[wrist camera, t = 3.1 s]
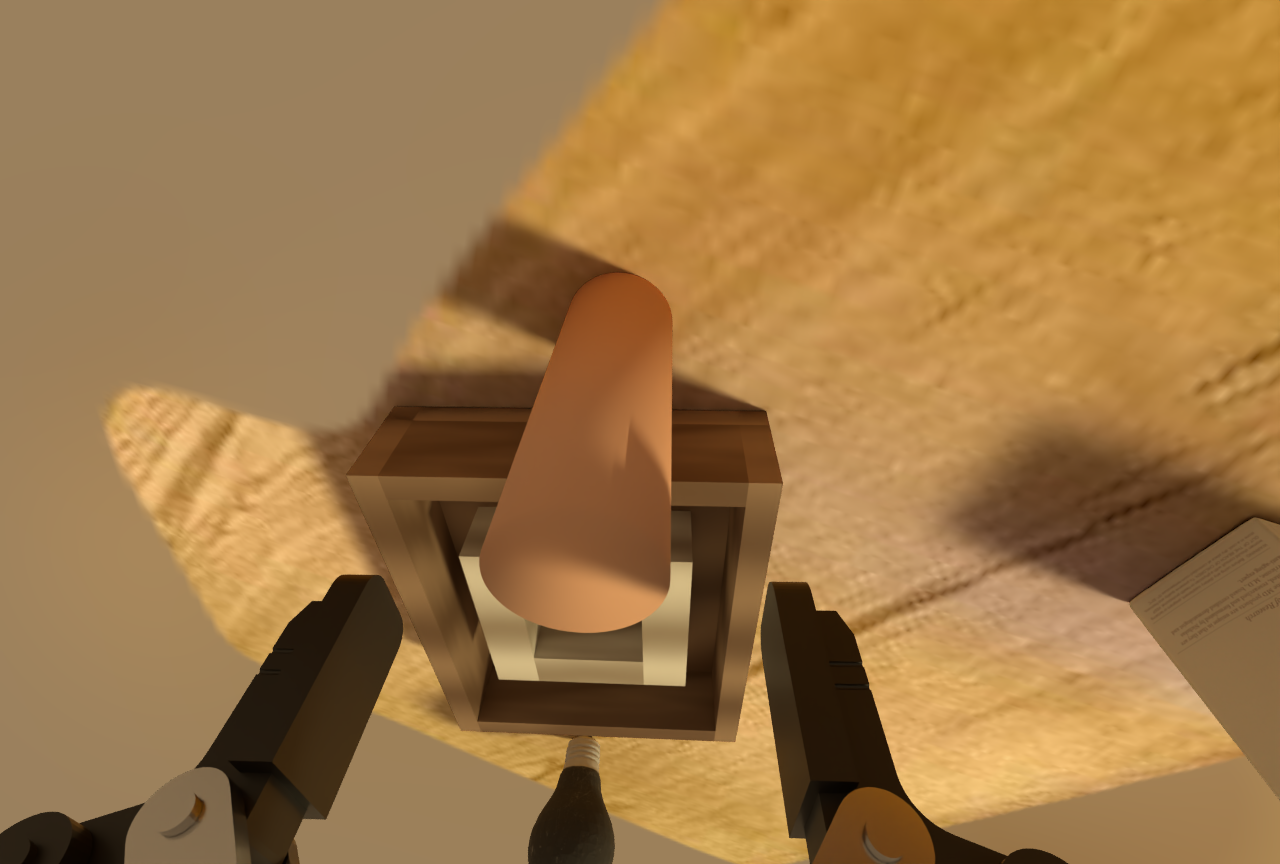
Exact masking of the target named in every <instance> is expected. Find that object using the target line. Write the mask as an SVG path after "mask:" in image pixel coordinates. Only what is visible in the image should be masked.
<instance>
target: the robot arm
mask: <svg viewBox="0 0 1280 864" xmlns="http://www.w3.org/2000/svg"><path fill="white" fill-rule="evenodd" d="M402 634H403V622H402V618H401V615H400V613H399V611H398V609H397V607H396V605H395V602H394V600H393V598H392V596H391V594H390V592H389V590H388V587H387V585H386V583H385V581H384V579H383V578H382V577H381V576H379V575H341V576H339V577H338V578H337V579H336V580H335V581H334V582H333V584H332V585H331V587H330V589H329V590H328V592H327V594H326V595H325V597H324V599H323V600H322V601H312V602H311V603H310V604H309V605H307V606H306V607H305V608H304V609H303V610H302V611H301V612H300V613H299V614H298V615H297V616H296V617H294V618H293V619H292V620H291V621H290V622H289V623H288V625H287V626H286V628H285V629H284V631H283V633H282V634H281V636H280V637H279V639H278V641H277V642H276V644H275V645H274V647H273V652H272V653H269V655H268V657H267V658H266V660H265V661H264V663H263V664H262V666H261V668H260V673H259V674H258V675H256V676H255V677H254V679H253V680H252V682H251V684H250V685H249V687H248V688H247V690H246V692H245V693H244V695H243V696H242V698H241V700H240V701H239V703H238V704H237V706H236V708H235V709H234V711H233V712H232V714H231V716H230V717H229V719H228V720H227V722H226V723H225V725H224V727H223V728H222V730H221V732H220V733H219V735H218V736H217V738H216V740H215V741H214V743H213V744H212V746H211V747H210V749H209V751H208V752H207V754H206V755H205V756H204V758H203V759H202V761H201V762H200V763H199V764H198V765H197V766H196V768H195V769H193V770H190V771H187V772H185V773H183V774H181V775H179V776H177V777H175V778H174V779H172V780H170V781H169V782H168V783H166V784H165V785H164V786H162V787H161V788H160V789H159V790H157V791H156V792H155V793H154V794H153V795H152V796H151V797H150V798H149V799H148V800H147V801H146V802H145V803H143V804H140V805H137V806H134V807H131V808H127V809H124V810H121V811H117V812H114V813H111V814H108V815H104V816H101V817H98V818H95V819H92V820H88V821H85V822H82V823H78V822H76V821H74V820H73V819H71V818H69V817H68V816H66V815H64V814H62V813H59V812H45V813H40V814H37V815H34V816H31V817H29V818H26V819H24V820H22V821H20V822H18V823H16V824H14V825H13V826H11V827H10V828H8V829H6V830H5V831H3V832H2V833H1V834H0V864H300V863H299V857H298V851H297V846H296V842H295V840H294V837H295V835H296V833H297V830H298V828H299V826H300V824H301V822H302V819H326V818H327V816H328V814H329V811H330V809H331V807H332V804H333V802H334V800H335V797H336V795H337V792H338V790H339V788H340V785H341V783H342V781H343V778H344V776H345V774H346V771H347V769H348V767H349V764H350V762H351V760H352V757H353V755H354V752H355V750H356V748H357V746H358V743H359V741H360V739H361V736H362V734H363V731H364V729H365V727H366V724H367V722H368V719H369V717H370V715H371V713H372V710H373V708H374V706H375V703H376V701H377V699H378V696H379V694H380V692H381V689H382V687H383V685H384V682H385V680H386V678H387V675H388V673H389V670H390V668H391V666H392V663H393V661H394V659H395V656H396V654H397V652H398V649H399V647H400V644H401V640H402ZM761 651H762V659H763V666H764V673H765V679H766V686H767V692H768V699H769V706H770V712H771V719H772V725H773V732H774V739H775V745H776V752H777V759H778V765H779V772H780V778H781V785H782V792H783V798H784V805H785V812H786V818H787V825H788V831H789V838H805V839H806V842H807V848H808V854H809V860H810V864H1068V863H1066V862H1065V861H1063V860H1062V859H1060V858H1058V857H1056V856H1055V855H1053V854H1050V853H1048V852H1045V851H1042V850H1037V849H1021V850H1017V851H1015V852H1013V853H1011V854H1010V855H1009V856H1006V855H1003V854H1001V853H998V852H996V851H993V850H991V849H988V848H985V847H983V846H981V845H978V844H975V843H973V842H970V841H968V840H965V839H963V838H960V837H958V836H955V835H953V834H951V833H949V832H946V831H944V830H943V829H941V828H940V827H938V826H936V825H935V824H934V823H932V822H931V821H930V820H928V819H927V818H926V817H925V816H924V815H923V814H922V813H921V812H920V811H919V810H918V809H917V808H916V807H915V806H914V804H913V803H912V802H911V801H910V799H909V798H908V796H907V795H906V793H905V791H904V790H903V788H902V786H901V784H900V781H899V779H898V776H897V773H896V770H895V767H894V763H893V760H892V757H891V754H890V750H889V747H888V744H887V741H886V737H885V734H884V731H883V728H882V724H881V721H880V718H879V715H878V711H877V708H876V705H875V701H874V698H873V695H872V692H871V690H870V689H869V682H868V679H867V675H866V672H865V669H864V667H863V666H862V659H861V656H860V653H859V649H858V646H857V643H856V639H855V636H854V634H853V633H852V631H851V630H850V629H849V627H848V626H847V625H846V623H845V622H844V621H843V619H842V618H841V617H840V615H839V614H838V613H837V612H836V611H816V609H815V605H814V601H813V597H812V593H811V590H810V587H809V585H808V583H806V582H769V584H768V589H767V595H766V600H765V606H764V612H763V618H762V624H761Z"/></svg>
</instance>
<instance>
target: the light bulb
mask: <svg viewBox="0 0 1280 864" xmlns="http://www.w3.org/2000/svg"><path fill="white" fill-rule="evenodd" d="M599 758H600V745H599V743H598V742H597V741H596V740H595V739H593V738H592V736H578V737H575V738H574V739H572V740H571V741H570V742H569V744H568V748H567V753H566V759H565V766H564V769H563V771H562V773H561V775H560V778H559V781H558V784H557V788H556V789H555V791H554V793H553V795H552V797H551V798H550V800H549V801H548V803H547V804H546V805H545V807H544V808H543V810H542V812H541V813H540V815H539V817H538V819H537V821H536V823H535V825H534V827H533V829H532V833H531V836H530V840H529V847H528V862H529V864H612V862H613V857H614V849H615V844H614V833H613V828H612V823H611V821H610V818H609V815H608V812H607V810H606V807H605V804H604V801H603V798H602V794H601V782H600V776H599V762H600V760H599Z"/></svg>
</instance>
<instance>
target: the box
mask: <svg viewBox="0 0 1280 864" xmlns="http://www.w3.org/2000/svg"><path fill="white" fill-rule="evenodd" d="M531 411H532V408H469V407H394V408H393V409H392V411H391V412H390V414H389V415H388V416H387V418H386V419H385V421H384V422H383V424H382V425H381V426H380V428H379V429H378V431H377V432H376V433H375V435H374V436H373V438H372V439H371V441H370V442H369V443H368V445H367V446H366V448H365V449H364V450H363V452H362V453H361V455H360V456H359V457H358V459H357V460H356V462H355V463H354V465H353V466H352V467H351V469H350V470H349V472H348V473H347V474H346V477H347V479H348V482H349V484H350V486H351V488H352V490H353V493H354V495H355V497H356V499H357V502H358V504H359V506H360V508H361V510H362V513H363V515H364V517H365V519H366V521H367V524H368V526H369V528H370V530H371V532H372V535H373V537H374V539H375V541H376V544H377V546H378V548H379V550H380V552H381V555H382V557H383V559H384V561H385V563H386V566H387V568H388V570H389V572H390V574H391V577H392V579H393V581H394V583H395V586H396V588H397V590H398V592H399V594H400V597H401V599H402V601H403V603H404V605H405V608H406V610H407V612H408V614H409V616H410V619H411V621H412V623H413V625H414V628H415V630H416V632H417V634H418V636H419V639H420V641H421V643H422V645H423V647H424V650H425V652H426V654H427V656H428V658H429V661H430V663H431V665H432V667H433V670H434V672H435V674H436V676H437V678H438V681H439V683H440V685H441V687H442V689H443V692H444V694H445V696H446V698H447V700H448V703H449V705H450V707H451V709H452V712H453V714H454V716H455V718H456V720H457V723H458V725H459V727H460V729H461V731H483V732H507V733H531V734H555V735H579V736H603V737H627V738H651V739H675V740H699V741H724V742H735V740H736V735H737V730H738V724H739V719H740V713H741V708H742V703H743V697H744V692H745V686H746V681H747V676H748V670H749V665H750V659H751V654H752V649H753V643H754V638H755V632H756V627H757V621H758V616H759V611H760V605H761V600H762V594H763V589H764V584H765V578H766V573H767V567H768V562H769V557H770V551H771V546H772V540H773V535H774V530H775V524H776V519H777V513H778V508H779V503H780V497H781V492H782V486H783V482H782V477H781V473H780V469H779V464H778V460H777V456H776V451H775V447H774V443H773V438H772V434H771V430H770V426H769V421H768V417H767V413H766V411H716V410H672V446H671V575H670V588H669V591H668V594H667V596H666V598H665V600H664V601H663V603H662V604H661V605H660V606H659V608H658V609H657V610H656V611H655V612H653V613H652V614H651V615H650V616H648V617H647V618H645V619H644V620H642V621H640V622H638V623H636V624H633V625H631V626H628V627H625V628H621V629H617V630H613V631H607V632H597V633H578V632H568V631H561V630H556V629H552V628H548V627H545V626H541V625H538V624H536V623H533V622H531V621H528V620H526V619H524V618H522V617H520V616H518V615H517V614H515V613H513V612H512V611H510V610H509V609H507V608H506V607H505V606H503V605H502V604H501V603H500V602H499V601H498V600H497V599H496V598H495V597H494V596H493V595H492V594H491V592H490V591H489V590H488V588H487V587H486V585H485V583H484V581H483V579H482V576H481V573H480V568H479V557H480V553H481V549H482V546H483V543H484V541H485V538H486V535H487V532H488V530H489V527H490V524H491V521H492V519H493V516H494V513H495V510H496V508H497V505H498V502H499V499H500V497H501V494H502V491H503V488H504V486H505V483H506V480H507V477H508V475H509V472H510V469H511V466H512V464H513V461H514V458H515V455H516V452H517V450H518V447H519V444H520V441H521V439H522V436H523V433H524V430H525V428H526V425H527V422H528V419H529V417H530V414H531Z"/></svg>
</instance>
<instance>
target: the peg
mask: <svg viewBox="0 0 1280 864" xmlns="http://www.w3.org/2000/svg"><path fill="white" fill-rule="evenodd" d="M671 446H672V314H671V310H670V307H669V304H668V302H667V300H666V299H665V297H664V296H663V294H662V293H661V292H660V291H659V290H658V288H656V287H655V286H654V285H653V284H652V283H650V282H649V281H647V280H645V279H643V278H641V277H639V276H636V275H633V274H628V273H620V272H616V273H607V274H603V275H600V276H597V277H595V278H593V279H591V280H589V281H588V282H586V283H585V284H584V285H583V286H582V287H581V288H580V289H579V290H578V291H577V292H576V294H575V295H574V297H573V299H572V301H571V304H570V306H569V309H568V312H567V315H566V317H565V320H564V323H563V326H562V328H561V331H560V334H559V337H558V339H557V342H556V345H555V348H554V350H553V353H552V356H551V359H550V361H549V364H548V367H547V370H546V373H545V375H544V378H543V381H542V384H541V386H540V389H539V392H538V395H537V397H536V400H535V403H534V406H533V408H532V411H531V414H530V417H529V419H528V422H527V425H526V428H525V430H524V433H523V436H522V439H521V441H520V444H519V447H518V450H517V452H516V455H515V458H514V461H513V464H512V466H511V469H510V472H509V475H508V477H507V480H506V483H505V486H504V488H503V491H502V494H501V497H500V499H499V502H498V505H497V508H496V510H495V513H494V516H493V519H492V521H491V524H490V527H489V530H488V532H487V535H486V538H485V541H484V543H483V546H482V549H481V553H480V557H479V568H480V573H481V576H482V579H483V581H484V583H485V585H486V587H487V588H488V590H489V591H490V592H491V594H492V595H493V596H494V597H495V598H496V599H497V600H498V601H499V602H500V603H501V604H502V605H503V606H505V607H506V608H507V609H509V610H510V611H512V612H513V613H515V614H517V615H518V616H520V617H522V618H524V619H526V620H528V621H531V622H533V623H536V624H538V625H541V626H545V627H548V628H552V629H556V630H561V631H568V632H578V633H597V632H607V631H613V630H617V629H621V628H625V627H628V626H631V625H633V624H636V623H638V622H640V621H642V620H644V619H645V618H647V617H648V616H650V615H651V614H652V613H653V612H655V611H656V610H657V609H658V608H659V606H660V605H661V604H662V603H663V601H664V600H665V598H666V596H667V594H668V591H669V588H670V575H671Z"/></svg>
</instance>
